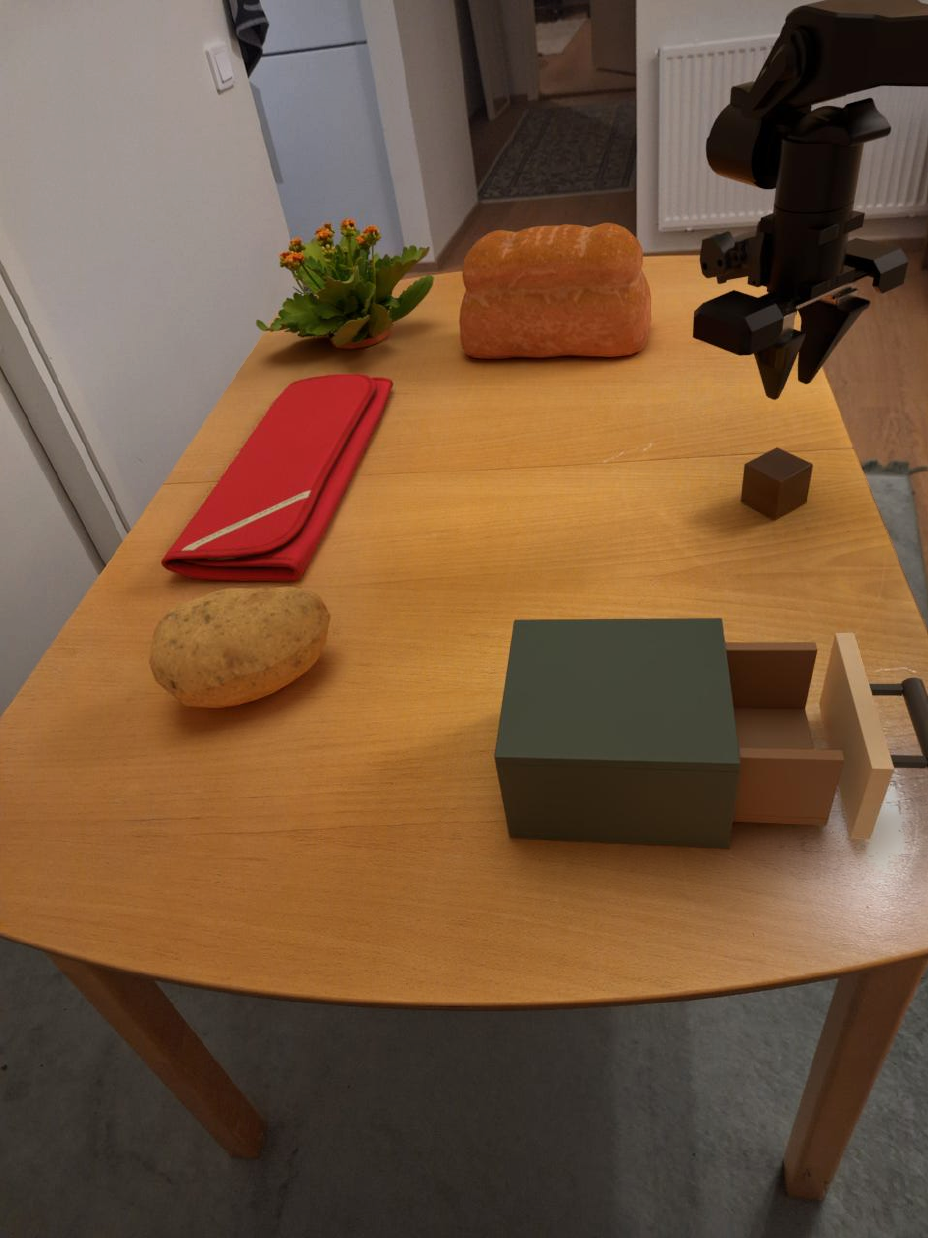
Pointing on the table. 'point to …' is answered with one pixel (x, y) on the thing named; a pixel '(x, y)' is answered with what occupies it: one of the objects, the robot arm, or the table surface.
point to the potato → (238, 644)
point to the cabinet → (619, 732)
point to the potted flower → (347, 287)
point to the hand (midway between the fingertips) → (788, 390)
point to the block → (776, 483)
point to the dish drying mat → (283, 483)
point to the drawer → (781, 740)
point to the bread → (555, 293)
